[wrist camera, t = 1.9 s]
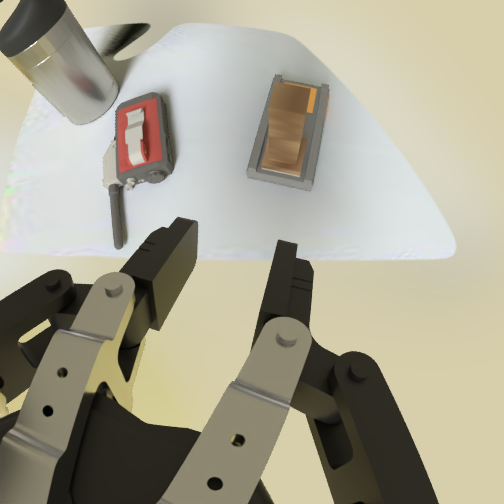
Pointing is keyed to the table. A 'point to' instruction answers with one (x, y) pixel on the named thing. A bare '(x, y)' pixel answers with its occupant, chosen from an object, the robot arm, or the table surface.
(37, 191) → the table surface
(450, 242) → the table surface
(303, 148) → the brown wooden block
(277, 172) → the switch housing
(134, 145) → the walkie-talkie
